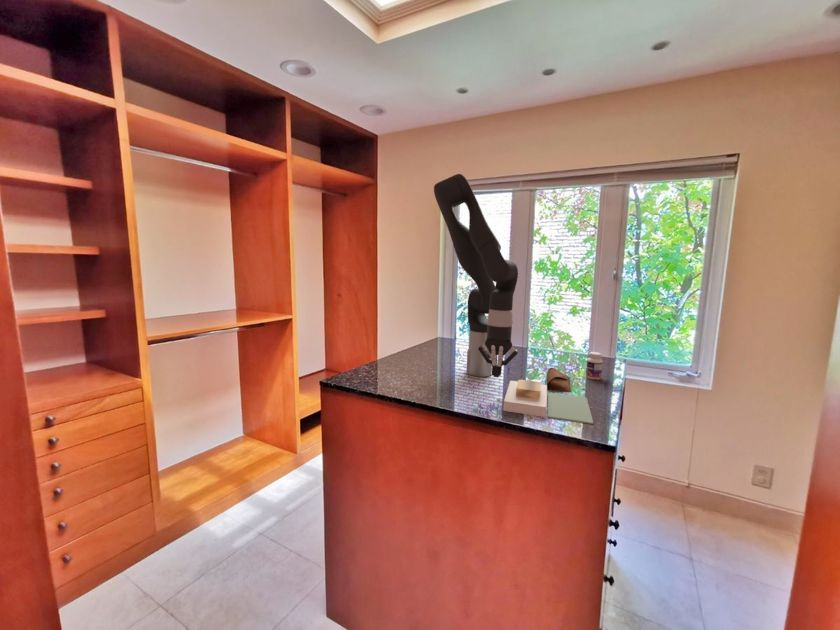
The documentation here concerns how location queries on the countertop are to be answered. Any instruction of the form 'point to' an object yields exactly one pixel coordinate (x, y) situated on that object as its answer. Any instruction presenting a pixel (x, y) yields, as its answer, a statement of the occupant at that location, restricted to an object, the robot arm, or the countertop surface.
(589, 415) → the mat
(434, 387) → the countertop surface
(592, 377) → the pill bottle
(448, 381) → the countertop surface
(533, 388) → the birch tile
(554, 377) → the sunglasses case
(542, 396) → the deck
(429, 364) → the countertop surface
